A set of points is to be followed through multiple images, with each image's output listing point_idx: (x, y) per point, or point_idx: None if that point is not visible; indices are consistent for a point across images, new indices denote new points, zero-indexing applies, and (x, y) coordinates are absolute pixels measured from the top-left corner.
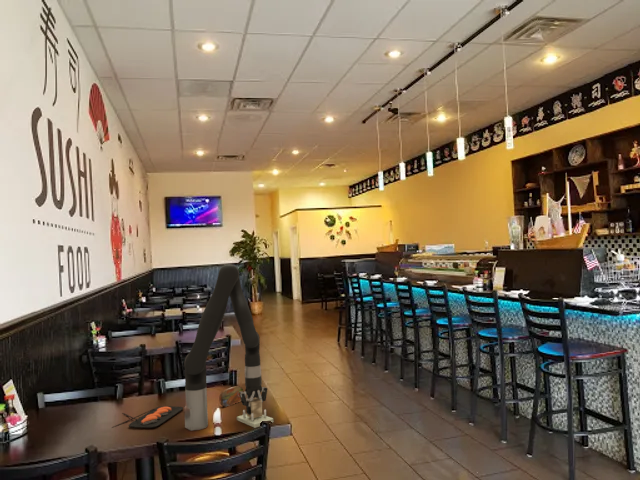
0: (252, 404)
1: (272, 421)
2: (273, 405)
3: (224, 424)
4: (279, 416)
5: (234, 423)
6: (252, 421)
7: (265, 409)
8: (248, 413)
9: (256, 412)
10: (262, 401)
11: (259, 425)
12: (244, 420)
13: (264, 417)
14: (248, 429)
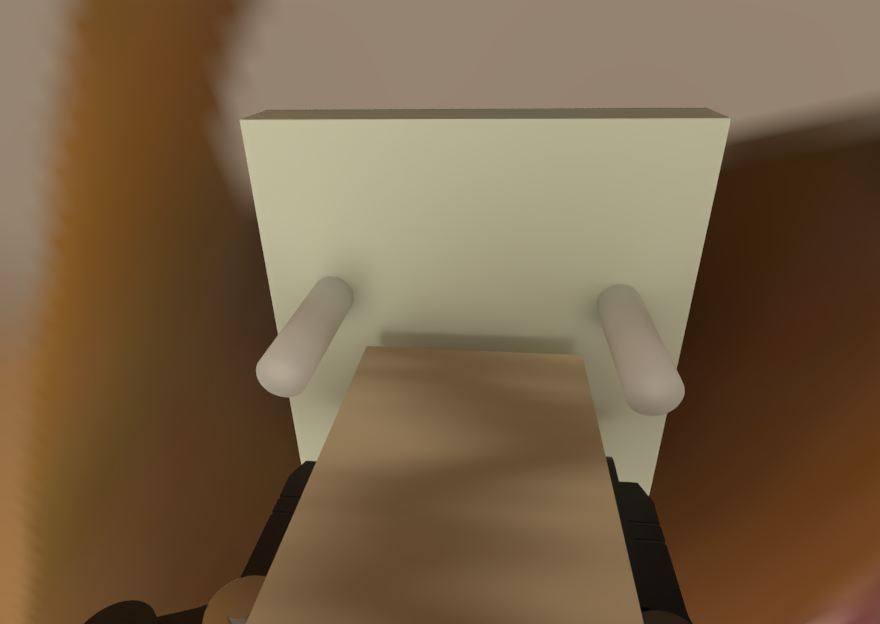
0: (639, 615)
1: (282, 110)
2: (31, 603)
3: (839, 565)
4: (76, 270)
5: (732, 507)
6: (635, 290)
7: (261, 383)
8: (639, 486)
9: (495, 409)
10: (209, 611)
11: (592, 109)
12: (657, 443)
13: (350, 294)
14: (840, 128)
